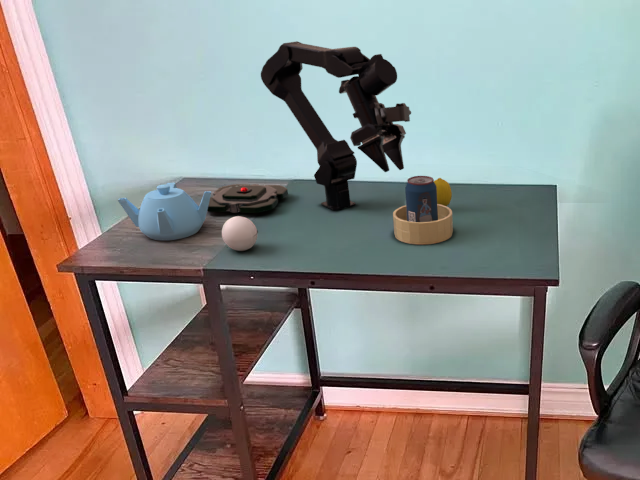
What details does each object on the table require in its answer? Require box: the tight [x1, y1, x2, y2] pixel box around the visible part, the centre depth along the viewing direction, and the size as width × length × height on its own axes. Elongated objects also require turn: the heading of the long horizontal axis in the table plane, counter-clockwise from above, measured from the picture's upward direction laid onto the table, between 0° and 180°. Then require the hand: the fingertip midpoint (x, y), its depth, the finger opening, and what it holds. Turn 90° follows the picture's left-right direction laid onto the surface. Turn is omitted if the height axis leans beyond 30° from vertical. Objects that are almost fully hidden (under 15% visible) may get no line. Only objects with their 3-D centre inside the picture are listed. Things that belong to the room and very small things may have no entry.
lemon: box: [434, 177, 453, 207], centre depth 175 cm, size 6×6×8 cm
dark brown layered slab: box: [207, 183, 289, 214], centre depth 180 cm, size 18×18×5 cm
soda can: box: [404, 175, 438, 222], centre depth 160 cm, size 7×7×12 cm
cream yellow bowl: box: [392, 204, 454, 246], centre depth 162 cm, size 13×13×5 cm
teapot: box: [117, 182, 212, 241], centre depth 162 cm, size 15×15×11 cm
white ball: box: [221, 215, 259, 252], centre depth 155 cm, size 10×7×7 cm
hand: (394, 170), depth 162 cm, fingers open, 9 cm apart
